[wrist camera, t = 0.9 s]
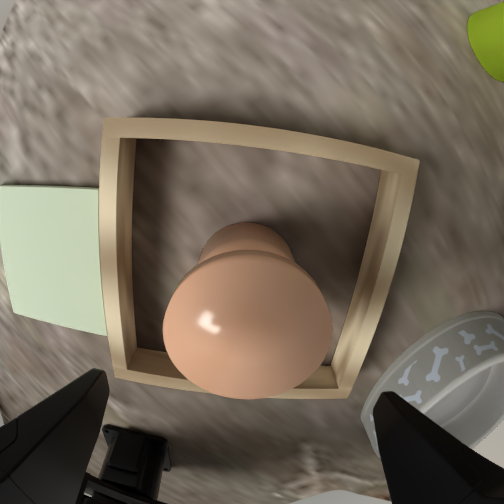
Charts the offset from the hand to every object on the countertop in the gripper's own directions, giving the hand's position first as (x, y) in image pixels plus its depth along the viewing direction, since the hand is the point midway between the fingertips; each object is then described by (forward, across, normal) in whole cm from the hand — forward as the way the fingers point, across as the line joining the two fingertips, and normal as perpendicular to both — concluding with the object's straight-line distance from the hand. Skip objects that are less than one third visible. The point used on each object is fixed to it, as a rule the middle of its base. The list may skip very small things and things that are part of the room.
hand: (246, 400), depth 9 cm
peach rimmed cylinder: (+10, 0, 0) cm, 10 cm away
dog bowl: (+11, -21, +11) cm, 26 cm away
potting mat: (+10, +13, +1) cm, 17 cm away
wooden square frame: (+10, 0, 0) cm, 10 cm away
